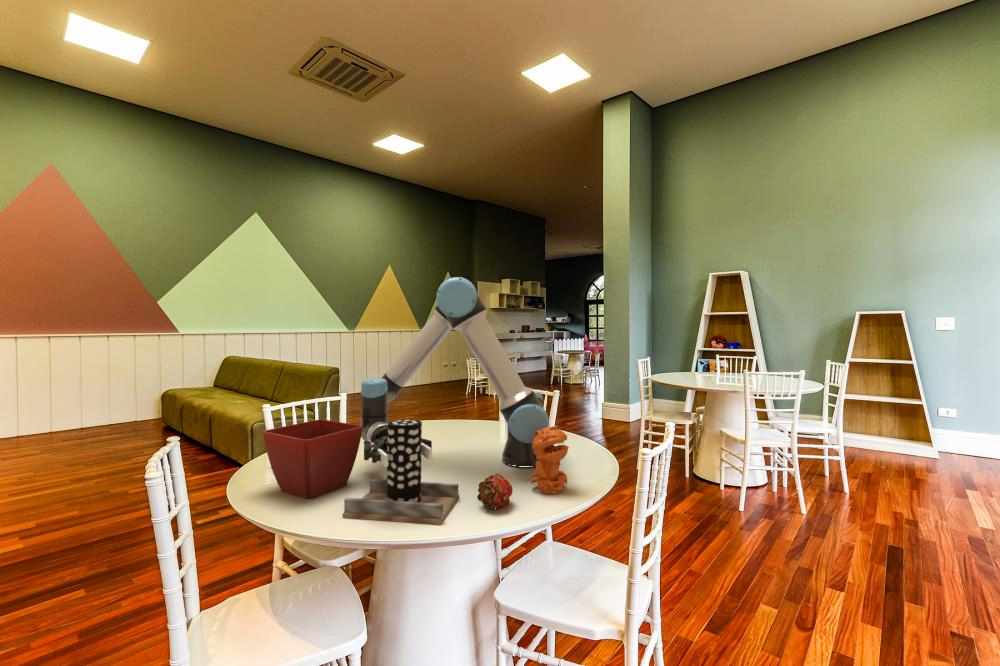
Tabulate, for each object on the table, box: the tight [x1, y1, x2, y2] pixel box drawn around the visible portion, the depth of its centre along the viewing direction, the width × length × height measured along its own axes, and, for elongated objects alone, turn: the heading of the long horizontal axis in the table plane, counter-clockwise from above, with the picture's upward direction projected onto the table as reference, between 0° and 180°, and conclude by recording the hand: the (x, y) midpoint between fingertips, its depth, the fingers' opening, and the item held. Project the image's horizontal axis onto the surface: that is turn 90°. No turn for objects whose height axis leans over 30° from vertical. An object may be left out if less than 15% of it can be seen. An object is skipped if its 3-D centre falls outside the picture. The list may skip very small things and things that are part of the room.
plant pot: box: [262, 418, 363, 499], centre depth 126 cm, size 19×19×17 cm
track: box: [342, 478, 460, 526], centre depth 112 cm, size 24×16×4 cm, turn 80°
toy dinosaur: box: [529, 424, 570, 494], centre depth 124 cm, size 11×11×18 cm
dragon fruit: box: [476, 473, 513, 510], centre depth 113 cm, size 8×8×12 cm
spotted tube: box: [386, 418, 423, 502], centre depth 112 cm, size 8×8×20 cm
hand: (408, 457), depth 108 cm, fingers open, 10 cm apart
